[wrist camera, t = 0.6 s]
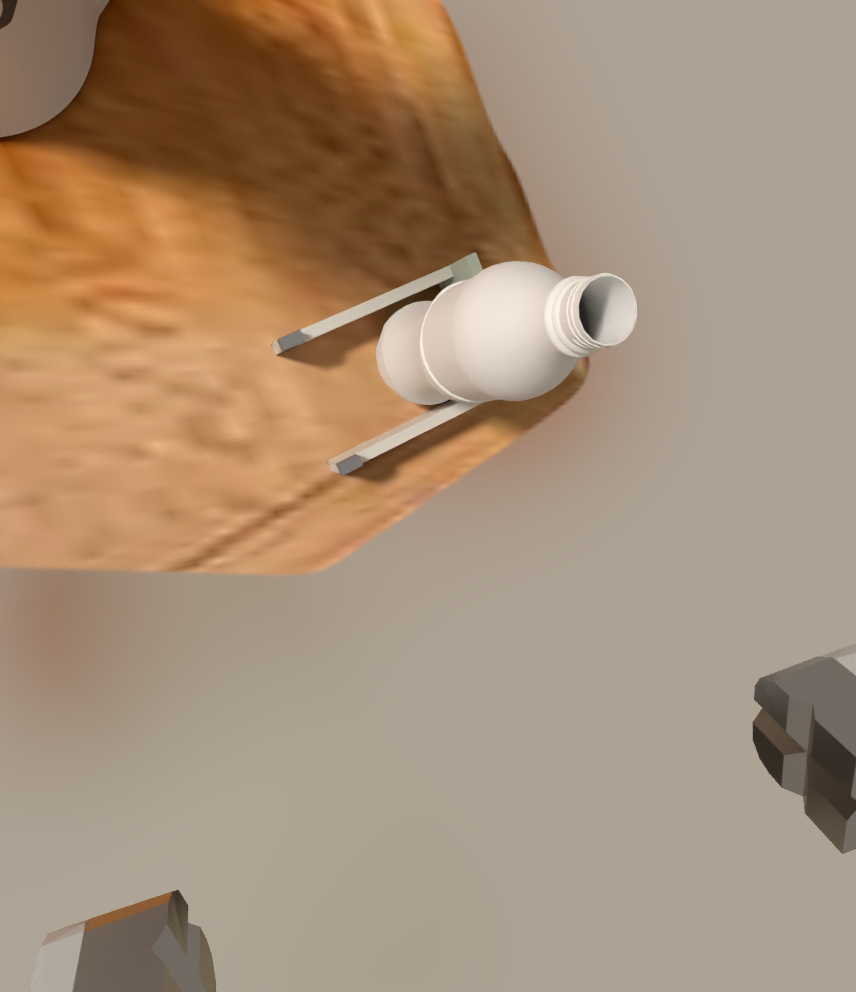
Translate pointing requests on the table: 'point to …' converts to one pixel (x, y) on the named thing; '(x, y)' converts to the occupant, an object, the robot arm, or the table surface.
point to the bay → (443, 277)
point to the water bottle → (502, 334)
